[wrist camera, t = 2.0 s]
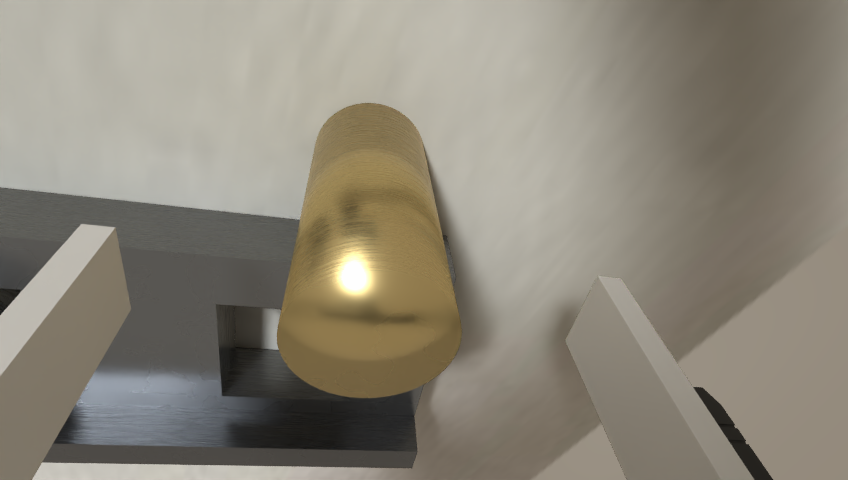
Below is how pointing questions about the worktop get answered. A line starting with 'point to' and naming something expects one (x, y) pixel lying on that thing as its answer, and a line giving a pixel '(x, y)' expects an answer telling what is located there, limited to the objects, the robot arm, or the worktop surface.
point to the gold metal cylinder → (369, 263)
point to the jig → (198, 345)
